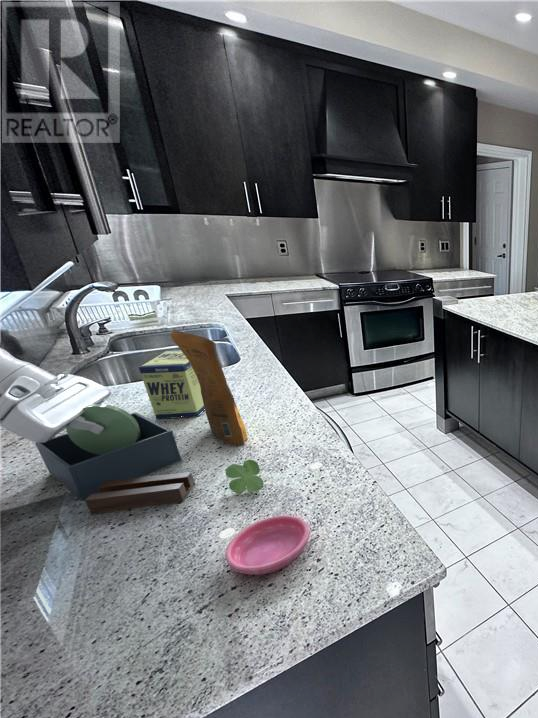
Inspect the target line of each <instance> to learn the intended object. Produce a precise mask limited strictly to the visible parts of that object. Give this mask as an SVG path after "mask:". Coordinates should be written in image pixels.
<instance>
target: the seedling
mask: <svg viewBox="0 0 538 718" xmlns="http://www.w3.org/2000/svg"><path fill="white" fill-rule="evenodd" d="M260 472H261V469H260V466H259V463H258V462H257V461H255V460H254V459H246V460H244V461H243V462H242V464H237V463H232V464H230V465H228V466H227V467H226V469H225V476H226V477H227V478H229V479H232V480H231V481H229V483H228V487H229V490H230V491H231V492H233V493H235V494H242V493H244V492H245V491H247V492H248V493H251V494H252V493H257V492H259V491H260V490H261V489H262V488H263V487H264V484H265V483H264V479H262V478H261V477H260V476H258V474H260Z"/></svg>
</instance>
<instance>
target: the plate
mask: <svg viewBox="0 0 538 718" xmlns="http://www.w3.org/2000/svg"><path fill="white" fill-rule="evenodd" d="M82 410H84V413H83V414H81V415H80V416H81V417H83V418H85V421H89V422H94V423H97V422H100V423H102V424H104V425H106V428H105V429H104V430H103V431H102V432H101V433H100V434H95V433H93V432H91V431H89V430H80V429H75V428H72V427H70V426H69V427H67V428H66V429H65V430H66V434H68V436H69V438H70V439H71V440H72V441H73V442H74V443H75V444H76V445H77V446H78V447H80V448H82V449H84V450H86V451H88V452H91V453H94V454H99V455H103V454H105V453H108V452H111V451H114V450H117V449H119V448H122V447H125V446H128V445H131V444H133V443H136V442H137V441H138V439H139V436H140V428H139V425H138V423H137V421H136V420H135V419H134V417H133V416H131V415H130V414H131V413H130V412H128V411H126V410H124V409H122V408H120V407H119V406H115V405H111V404H107V403H102V404H93V405H88V406H85V407H83V408H82Z"/></svg>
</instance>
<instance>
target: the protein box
mask: <svg viewBox="0 0 538 718" xmlns="http://www.w3.org/2000/svg"><path fill="white" fill-rule="evenodd" d="M138 370H139V373H140V376H141V379H142V382H143V385H144V387H145V390H146V393H147V397H148V399H149V402H150V405H151V408H152V411H153V414H154V416H155V419H156V420H158V419H157V418H164V419H172V418H171V417H180V418H186V417H185V416H198V415H199V414H200V413H201V412H202V411H203V410H204V409H205V408H204V404H203V399H202V395H201V388H200V384H199V381H198V378H197V376H196V374H195V372H194V370H193V368H192V366H191V364H190V362H189V361H188V359H187V358H186V356H185V355H184V354H183V352H182V351H181V349H180V348H178V349H168V350H165V351H164V352H162V353H161V354H159V355H157V356H156V357H154V358H152V359H151V360H149V361H148V362H147V361H146V363H144V364H142V365H140V366H138ZM204 411H205V410H204ZM204 411H203V412H204ZM203 412H202V413H203ZM202 413H201V414H202ZM201 414H200V415H201ZM200 415H199V416H200ZM181 416H182V417H181ZM183 416H184V417H183ZM199 416H198V417H199Z"/></svg>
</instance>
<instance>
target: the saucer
mask: <svg viewBox="0 0 538 718" xmlns="http://www.w3.org/2000/svg"><path fill="white" fill-rule="evenodd" d="M309 539H310V528H309V525H308V523H307V522H306V521H305V520H304V519H302V518H301V517H299V516H296V515H290V514H288V515H287V514H285V515H275V516H270V517H266V518H263V519H260V520H257V521H256V522H253V523H251V524H249V525H248V526H246V527H245V528H244V529H242V530H241V531H239V532H238V533H237V534H235V536H234V537H233V538H232V539H231V540H230V541H229V543H228V545H227V547H226V549H225V561H226V563H227V566H229V568H230V569H232V570H233V571H235V572H237V573H241V574H244V575H253V576H260V575H261V576H262V575H268V574H271V573H275V572H277V571H279V570H282V569H284V568H285V567H287V566H289V565H290V564H291V563H292V562H293V561H294V560H295V559H296V558H298V556H299V555H300V554H301V553H302V552H303V550H304V549H305V548H306V546H307V544H308V542H309Z"/></svg>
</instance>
